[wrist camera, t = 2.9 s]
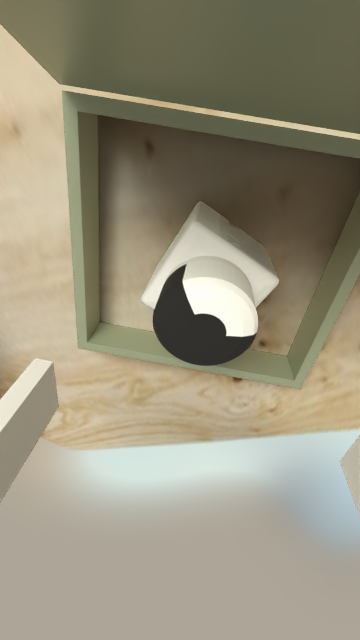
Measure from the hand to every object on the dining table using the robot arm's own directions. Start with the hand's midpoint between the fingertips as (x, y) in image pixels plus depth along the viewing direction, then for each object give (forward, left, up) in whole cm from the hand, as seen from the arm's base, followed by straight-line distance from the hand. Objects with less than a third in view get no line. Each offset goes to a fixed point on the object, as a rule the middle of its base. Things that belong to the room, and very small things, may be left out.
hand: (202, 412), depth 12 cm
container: (0, 0, -19) cm, 19 cm away
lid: (+14, 0, -4) cm, 14 cm away
